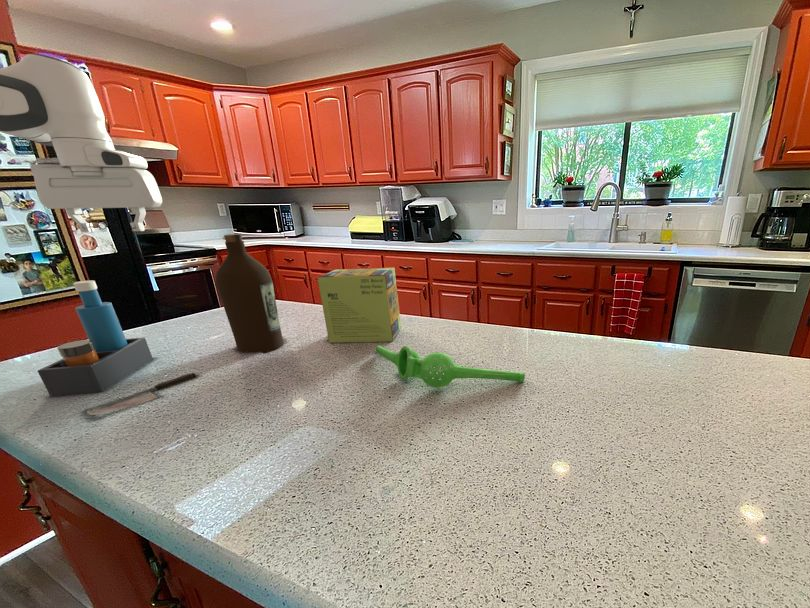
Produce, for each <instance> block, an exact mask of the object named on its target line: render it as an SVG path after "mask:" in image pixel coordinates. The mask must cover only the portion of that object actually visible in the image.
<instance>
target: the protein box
mask: <svg viewBox="0 0 810 608" xmlns="http://www.w3.org/2000/svg"><path fill="white" fill-rule="evenodd" d="M317 285H318V290H319V294H320V300H321V306H322V311H323V316H324V323H325V327H326V332H327V339H328V343H336V344H337V343H382V342H387V343H388V342H390V343H391V342H393V341H394V340H395V339H396V337H397V335H398V334H399V333H400V331H401V329H402V321H401V314H400V313H401V312H400V305H399V296H398V295H399V294H398V286H397V279H396V269H395V267H380V268H379V267H377V268H374V267H373V268H345V269H333V270H331V271H329V272H326V273H324V274H322V275H319V276H318V277H317Z"/></svg>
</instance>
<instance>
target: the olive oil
mask: <svg viewBox="0 0 810 608" xmlns="http://www.w3.org/2000/svg"><path fill="white" fill-rule="evenodd" d="M223 238H224V240H225V242H224V244H225V248H226V251H227V255H226V257H225V258H224V260H223V261H222V263H221V264H220V265H219V267H218V268H217V271H216V272H215V287H216V289H217V292H218V295H219V297H220V300H221V303H222V306H223V308H224V311H225V315H226V317H227V321H228V323H229V326H230V329H231V332H232V335H233V339H234V342H235V345H236V348H237V351H238V352H240V353H248V354H249V353H262V354H264V353H268V352H272V351H275V350H277V349H279V348H281V347H283V345H284V339H283V338H284V337H283V333H282V328H281V323H280V317H279V313H278V312H279V311H278V307H277V300H276V294H275V289H274V283H273V279H272V276H271V274H270V272H269V270H268V268H267V267H265V265H263V264H262V263H261V262H259V261H258V260H257V259H255V258H254V257H253V256H251V255H250V254H249V253H248V252H247V250H246V246H245V241H244V240H243V237H242V234H240V233H233V234H232V233H231V234H224V235H223Z"/></svg>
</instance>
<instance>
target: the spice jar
mask: <svg viewBox="0 0 810 608" xmlns="http://www.w3.org/2000/svg"><path fill="white" fill-rule="evenodd" d="M56 347H57V351H58V353H59V355H60V357H62V358H61V359H63V360H64V362H65V364H66V366H67V367H70V366H82V365H90V364H92V363H94V362H96V361H98V360H99V357H98V355H97V353H96V350H95V346H94V344H93V342H92V340H89V339H81V340H74V341H70V342H66V343H62V344H59V345H58V346H56Z"/></svg>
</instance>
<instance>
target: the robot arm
mask: <svg viewBox="0 0 810 608" xmlns="http://www.w3.org/2000/svg"><path fill="white" fill-rule="evenodd" d="M90 79H91V78H89V76H88V75H87V74H86V72H84V71H83V70H82V69H80V67H77V66H76V65H74V64H72V63H70V62H68V61H66V60H62V59H60V58H57V57H54V56H50V55H46V54H41V53H27V54H25V55H24V56H23V57H22V59H20V60H19V61H18V62H15V63H12V64H11V65H8V66H4V67H1V68H0V133H3V134H6V135H8V136H13V137H17V138H19V139H24V140H29V141H31V142H34V143H36V144H40V145H42V146H48V147H53V150H54V151H55V155H56V157H49V158H45V157H36V158H35V160H33V161H32V162H31V163H30V165H29V167H30V171H31V173H32V176H33V180H34V186H35V189H36V193H37V197H38V200H39V203H40V204H41V205H43V206H44V207H45V209H48V210H65V212H66V215H67V216H68V217H69V218H70V219H72V221H74V222H75V223H76V224H77V226H78V228H79V231H80V232H81V233H94V232H95V228H94V225H93V222H87V220H85V219H84V217H83V216H82V215H83V214H84V213H83V210H82V209H122V208H127V209H128V208H130V210H131V213H132V214H135V216H134V220H133V221H131V222H129V224H130V227H131V231H133V232H144V231H145V230H146V228H145V225H144V221H145V218H146V215H147V211H146V208H160V207H161V206H162V204H163V198H162V194H161V192H160V191H161V190H160V188H159V186H158V183H157V181H156V178H155V177H154V175H153V174H152V173H151V172H150V171H149V170H147V169H148V167H149V166H148V162H147V159H146V158H145V157H142V156H138V155H135V154H132V153H128V152H126V151H123V150H120V149H119V150H118V149H116V148H115V145H114V142H113V139H112V138H111V136H110V135H109V133H108V131H107V127H106V117H105V113H104V111H103V108H102V105H101V102H100V100H99V96H98V94H97V91H96V90H95V87H94V85H93V83H92V80H90Z"/></svg>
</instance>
